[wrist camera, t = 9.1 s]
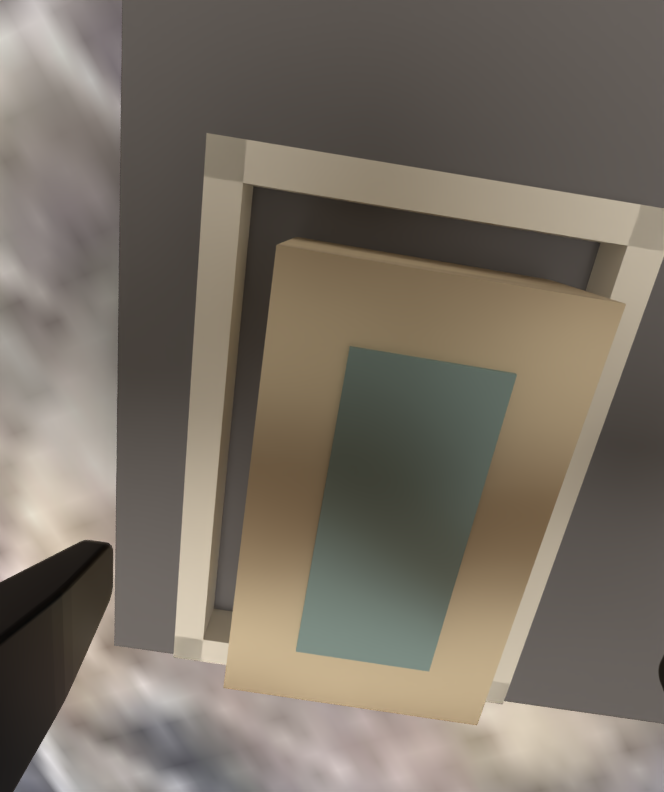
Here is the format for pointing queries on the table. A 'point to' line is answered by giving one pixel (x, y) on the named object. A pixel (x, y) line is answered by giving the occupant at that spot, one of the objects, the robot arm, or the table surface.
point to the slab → (404, 473)
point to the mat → (401, 234)
